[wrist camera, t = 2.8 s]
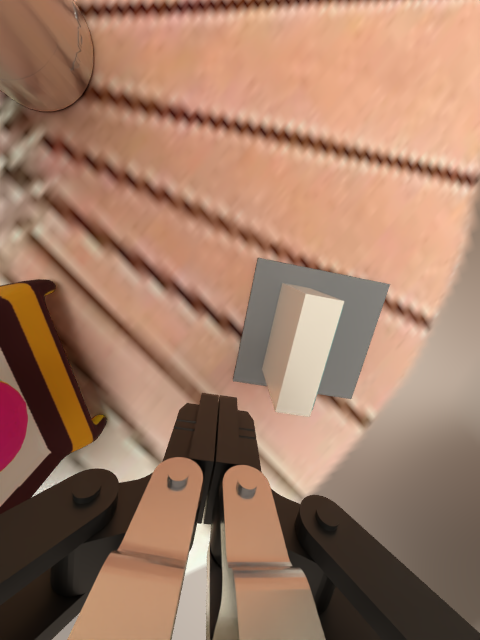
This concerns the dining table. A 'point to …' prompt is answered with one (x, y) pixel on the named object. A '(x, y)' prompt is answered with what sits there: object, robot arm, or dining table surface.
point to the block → (299, 347)
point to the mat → (350, 335)
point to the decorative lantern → (35, 395)
